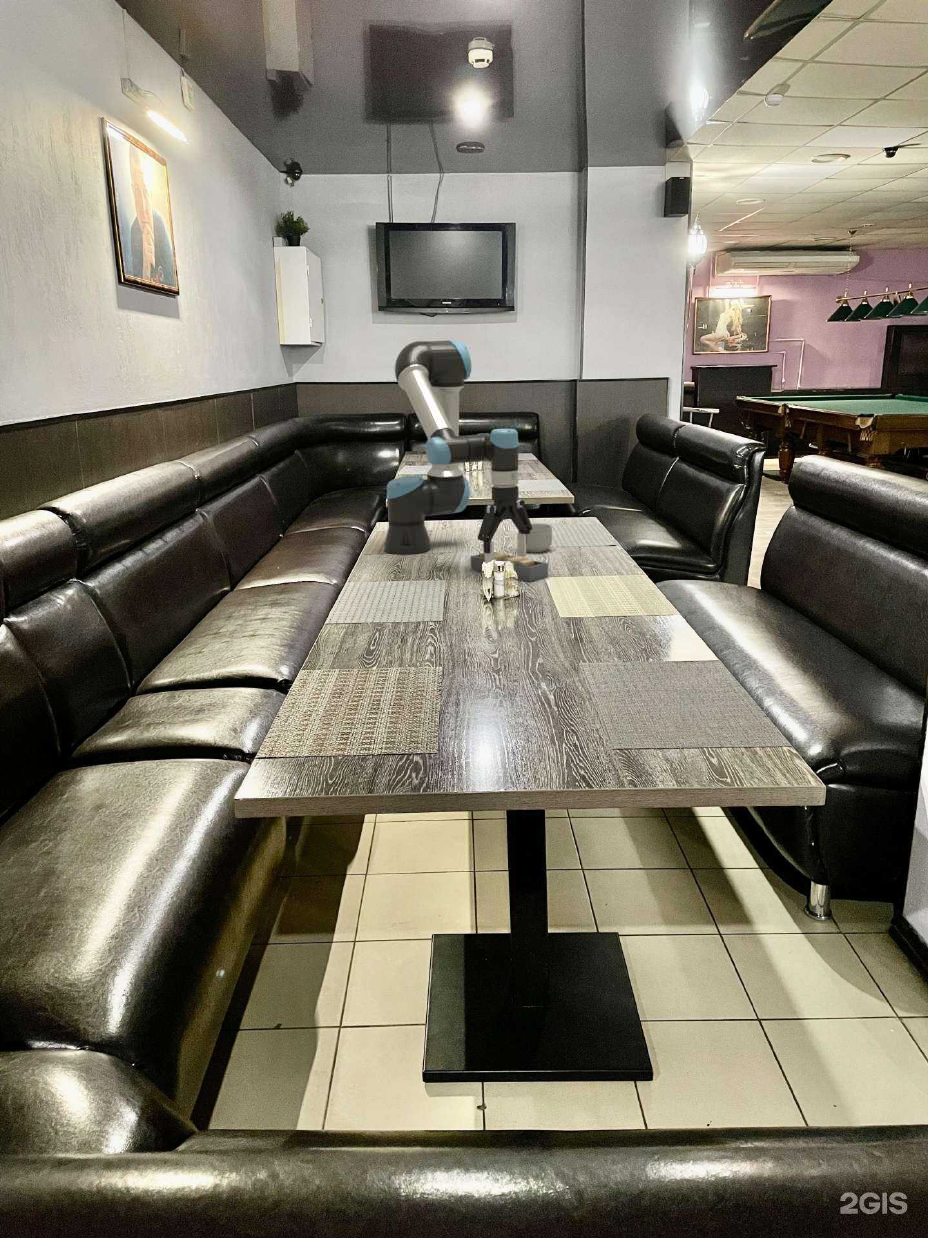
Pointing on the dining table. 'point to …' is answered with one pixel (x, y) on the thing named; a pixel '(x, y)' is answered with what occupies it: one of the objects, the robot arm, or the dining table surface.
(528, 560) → the tan long bar
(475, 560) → the grey u-channel bracket
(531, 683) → the dining table surface
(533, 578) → the grey hollow tray
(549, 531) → the teacup
